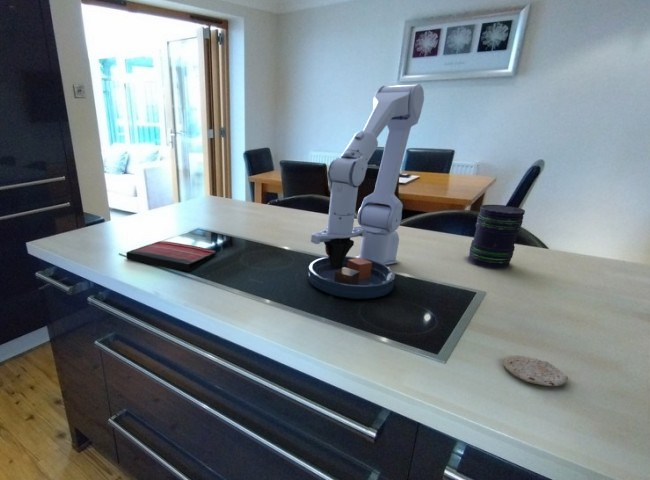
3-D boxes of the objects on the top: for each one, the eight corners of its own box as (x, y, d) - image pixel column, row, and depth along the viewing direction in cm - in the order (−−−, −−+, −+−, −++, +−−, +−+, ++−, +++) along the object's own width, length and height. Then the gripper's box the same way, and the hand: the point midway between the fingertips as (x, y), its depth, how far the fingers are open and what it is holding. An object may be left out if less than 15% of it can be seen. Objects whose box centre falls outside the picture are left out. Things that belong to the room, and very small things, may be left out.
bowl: (352, 264, 106) (354, 251, 104) (411, 291, 89) (413, 277, 88) (292, 275, 98) (293, 262, 97) (344, 307, 82) (346, 292, 81)
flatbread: (509, 381, 59) (511, 376, 59) (497, 354, 65) (498, 349, 65) (575, 394, 56) (577, 388, 56) (555, 365, 63) (557, 359, 62)
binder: (188, 263, 100) (125, 251, 109) (188, 272, 100) (126, 259, 109) (218, 248, 113) (160, 239, 122) (218, 256, 114) (160, 246, 123)
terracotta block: (358, 272, 99) (360, 257, 97) (370, 277, 95) (372, 262, 94) (346, 274, 97) (348, 259, 96) (357, 280, 94) (359, 264, 92)
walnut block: (342, 282, 93) (344, 266, 91) (357, 287, 90) (360, 271, 88) (333, 287, 90) (335, 271, 89) (348, 292, 87) (351, 276, 86)
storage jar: (470, 266, 104) (483, 211, 98) (464, 254, 112) (477, 203, 107) (514, 271, 101) (531, 214, 95) (504, 259, 109) (520, 206, 103)
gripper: (354, 206, 95) (348, 258, 100) (305, 212, 89) (301, 267, 94) (375, 212, 89) (367, 267, 94) (324, 218, 83) (318, 277, 88)
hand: (335, 267), depth 94 cm, fingers closed
